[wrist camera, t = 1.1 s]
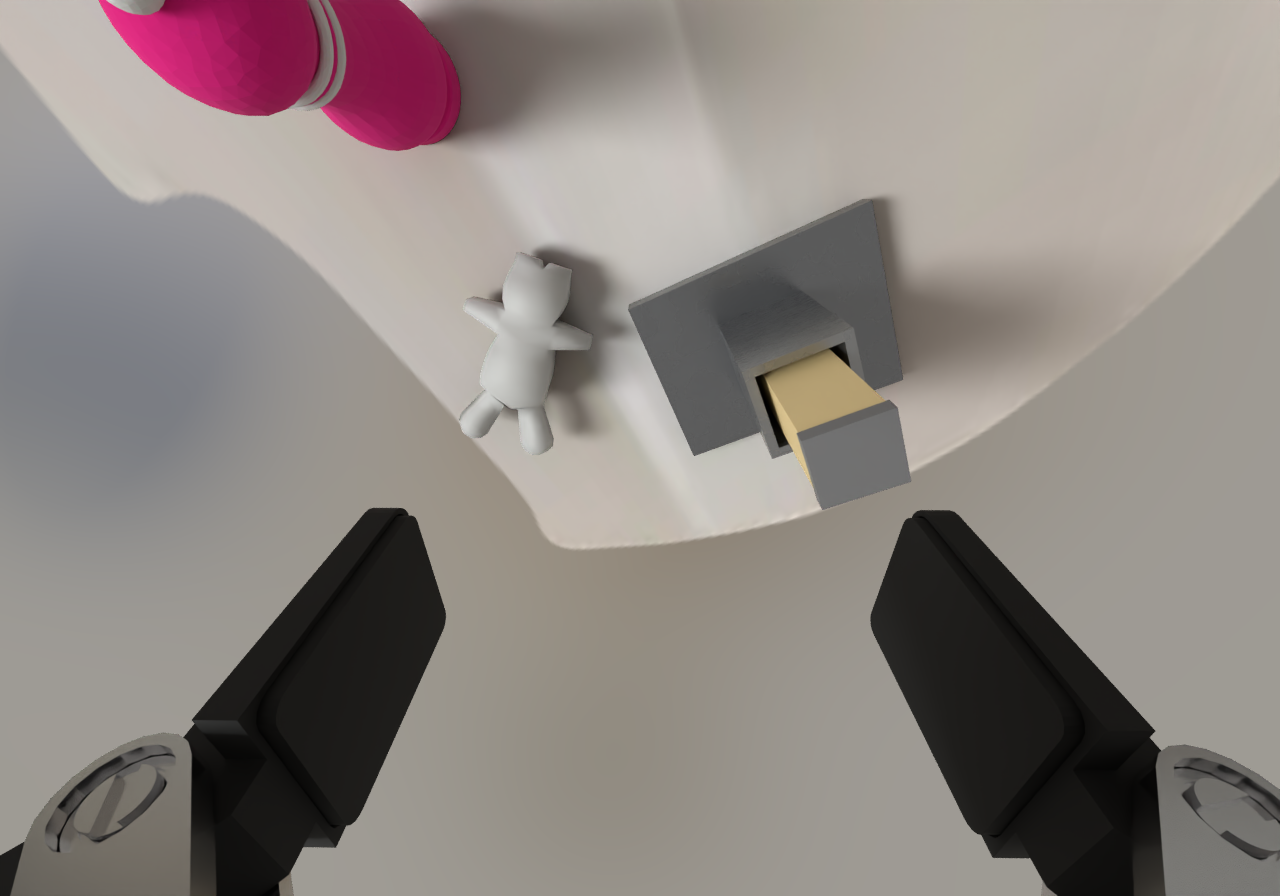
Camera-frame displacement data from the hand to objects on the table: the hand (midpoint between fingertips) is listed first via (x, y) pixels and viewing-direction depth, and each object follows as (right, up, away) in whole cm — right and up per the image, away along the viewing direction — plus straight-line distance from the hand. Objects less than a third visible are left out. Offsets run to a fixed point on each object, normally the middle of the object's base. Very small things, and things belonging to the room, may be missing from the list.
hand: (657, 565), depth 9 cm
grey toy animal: (-9, +11, +29) cm, 33 cm away
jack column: (+10, +10, +27) cm, 30 cm away
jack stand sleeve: (+10, +11, +29) cm, 32 cm away
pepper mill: (-15, +26, +21) cm, 36 cm away
